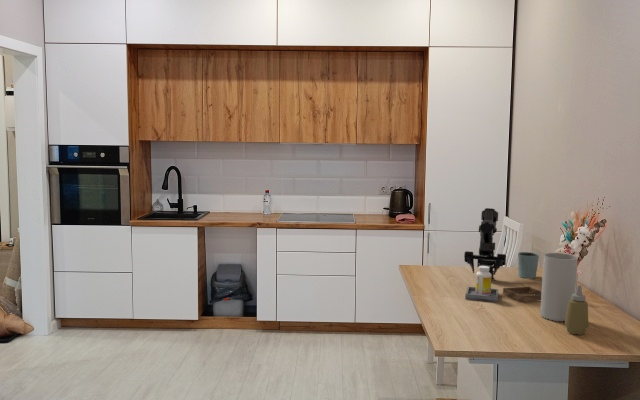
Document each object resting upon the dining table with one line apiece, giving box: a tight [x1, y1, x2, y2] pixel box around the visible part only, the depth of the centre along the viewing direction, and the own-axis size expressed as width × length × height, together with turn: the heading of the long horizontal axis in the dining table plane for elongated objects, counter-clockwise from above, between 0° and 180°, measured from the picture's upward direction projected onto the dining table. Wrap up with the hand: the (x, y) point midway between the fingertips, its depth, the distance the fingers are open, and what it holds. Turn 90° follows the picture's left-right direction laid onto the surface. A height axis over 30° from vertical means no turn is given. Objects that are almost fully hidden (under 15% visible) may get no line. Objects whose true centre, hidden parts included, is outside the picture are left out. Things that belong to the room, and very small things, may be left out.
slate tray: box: [464, 286, 499, 303], centre depth 264 cm, size 14×14×2 cm
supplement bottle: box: [475, 266, 492, 296], centre depth 263 cm, size 7×7×13 cm
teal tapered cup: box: [517, 251, 540, 279], centre depth 302 cm, size 10×10×12 cm
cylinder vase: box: [539, 252, 579, 323], centre depth 234 cm, size 12×12×25 cm
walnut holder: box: [502, 286, 542, 303], centre depth 265 cm, size 14×14×2 cm
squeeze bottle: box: [564, 284, 590, 336], centre depth 216 cm, size 8×8×18 cm
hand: (483, 273), depth 270 cm, fingers open, 9 cm apart
